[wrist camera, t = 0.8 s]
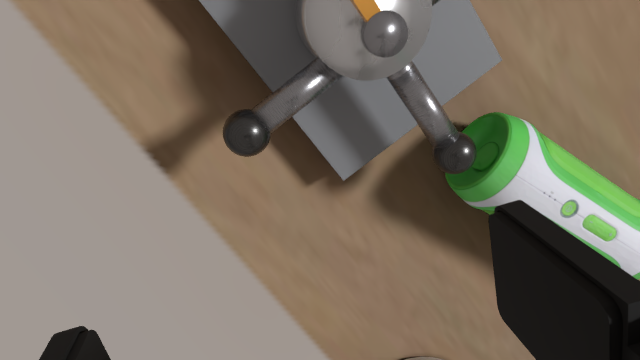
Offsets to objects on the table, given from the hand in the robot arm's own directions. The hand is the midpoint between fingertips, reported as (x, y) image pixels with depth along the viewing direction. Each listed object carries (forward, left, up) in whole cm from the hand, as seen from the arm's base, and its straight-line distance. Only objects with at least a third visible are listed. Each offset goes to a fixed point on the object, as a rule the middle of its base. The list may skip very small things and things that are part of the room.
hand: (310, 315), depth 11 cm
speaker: (-20, -13, -25) cm, 35 cm away
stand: (+3, -8, -25) cm, 26 cm away
